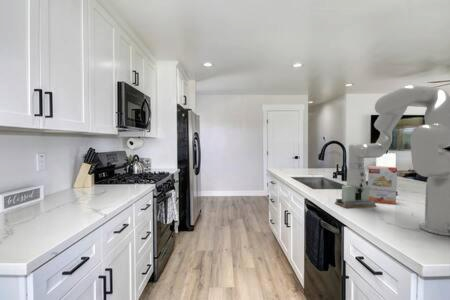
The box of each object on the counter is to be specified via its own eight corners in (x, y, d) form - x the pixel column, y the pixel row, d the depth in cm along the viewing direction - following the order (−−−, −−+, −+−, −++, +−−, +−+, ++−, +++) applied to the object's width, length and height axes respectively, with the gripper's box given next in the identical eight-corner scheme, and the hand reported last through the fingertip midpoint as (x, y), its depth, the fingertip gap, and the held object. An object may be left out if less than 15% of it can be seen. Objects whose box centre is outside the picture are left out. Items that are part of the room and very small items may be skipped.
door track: (376, 207, 138) (376, 201, 138) (346, 208, 135) (346, 202, 135) (363, 202, 148) (363, 197, 148) (334, 203, 145) (335, 198, 145)
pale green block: (369, 202, 140) (369, 186, 140) (346, 203, 138) (346, 187, 138) (364, 200, 144) (364, 184, 144) (341, 201, 142) (342, 185, 142)
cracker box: (367, 201, 149) (368, 166, 148) (367, 199, 155) (368, 165, 154) (396, 204, 143) (397, 167, 142) (394, 202, 148) (395, 166, 147)
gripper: (373, 167, 133) (372, 202, 133) (352, 164, 149) (351, 195, 150) (360, 167, 131) (359, 203, 132) (340, 164, 148) (340, 196, 149)
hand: (355, 198), depth 141 cm, fingers closed on pale green block, 4 cm apart
